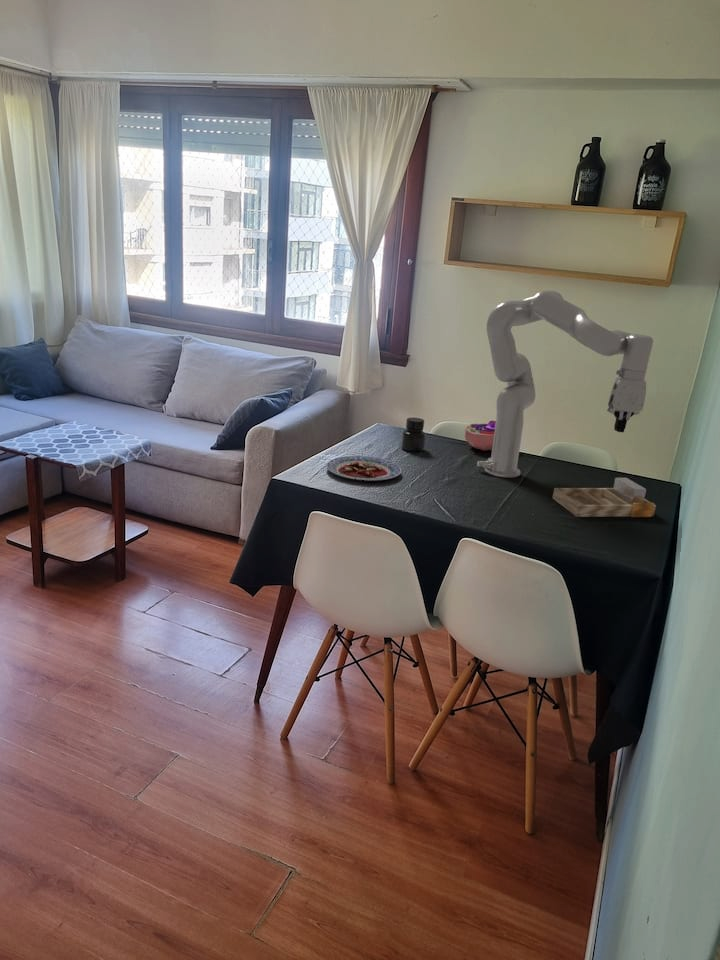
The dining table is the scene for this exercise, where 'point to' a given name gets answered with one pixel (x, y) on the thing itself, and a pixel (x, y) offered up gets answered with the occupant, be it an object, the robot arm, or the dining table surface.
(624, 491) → the grey block
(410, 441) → the ink bottle
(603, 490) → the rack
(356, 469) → the ceramic plate
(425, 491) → the dining table surface
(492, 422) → the cell model
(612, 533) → the dining table surface
